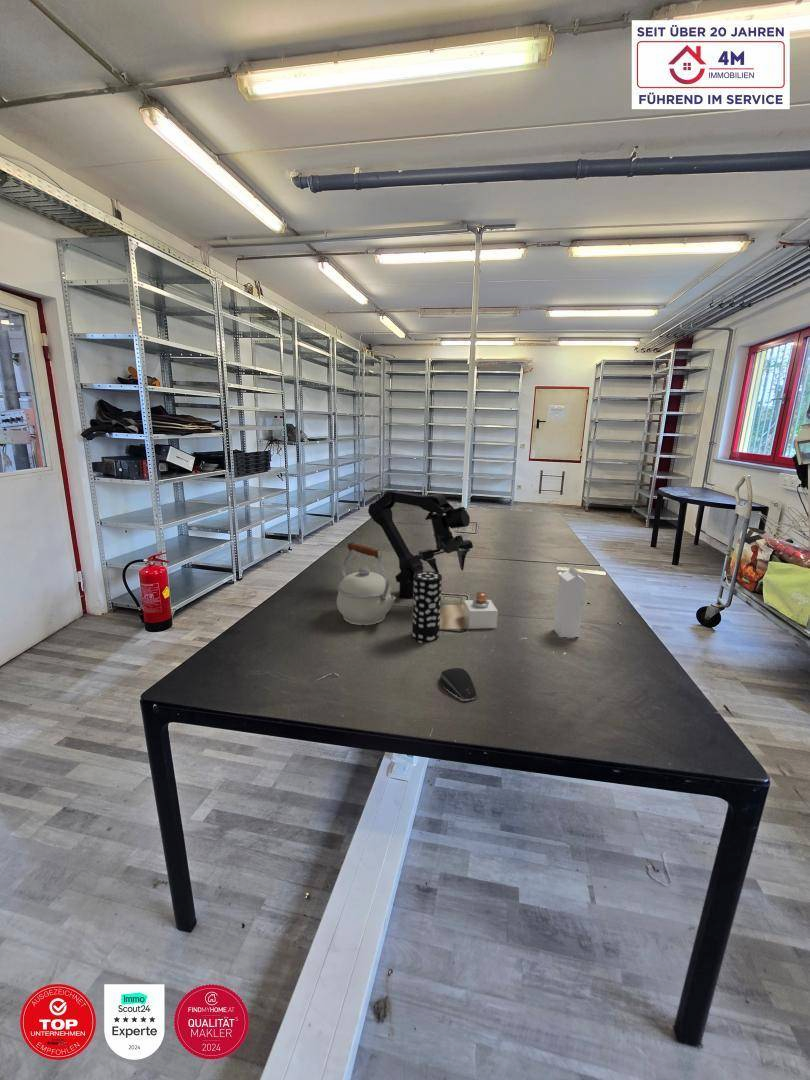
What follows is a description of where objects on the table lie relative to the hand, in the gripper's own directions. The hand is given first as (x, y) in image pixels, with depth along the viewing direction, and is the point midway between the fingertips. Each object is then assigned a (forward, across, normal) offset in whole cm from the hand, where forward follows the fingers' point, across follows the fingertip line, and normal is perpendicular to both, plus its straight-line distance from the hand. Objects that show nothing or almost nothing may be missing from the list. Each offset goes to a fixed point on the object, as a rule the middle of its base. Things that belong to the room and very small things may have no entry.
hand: (450, 573), depth 155 cm
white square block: (+16, +2, -12) cm, 20 cm away
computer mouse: (+20, -19, -44) cm, 52 cm away
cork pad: (+14, -2, -6) cm, 16 cm away
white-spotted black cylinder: (+14, -18, -17) cm, 29 cm away
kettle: (+8, -32, -1) cm, 33 cm away
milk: (+24, +25, -25) cm, 42 cm away
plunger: (+15, +2, -13) cm, 20 cm away
